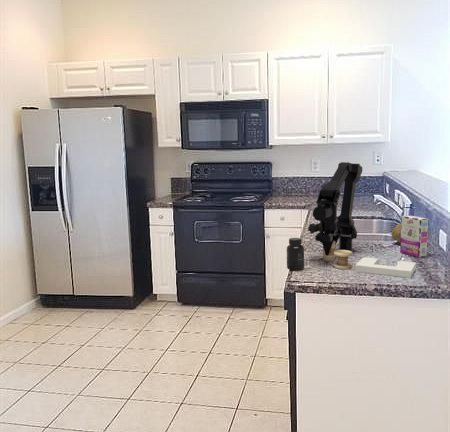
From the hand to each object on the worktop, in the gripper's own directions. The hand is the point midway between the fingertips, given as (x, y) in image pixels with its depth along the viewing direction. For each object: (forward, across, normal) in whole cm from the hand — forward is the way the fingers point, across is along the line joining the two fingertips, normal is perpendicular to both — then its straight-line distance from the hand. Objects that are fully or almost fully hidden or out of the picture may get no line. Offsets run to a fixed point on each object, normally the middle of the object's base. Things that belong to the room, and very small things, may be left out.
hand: (329, 253), depth 200 cm
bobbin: (+2, +8, +8) cm, 12 cm away
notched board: (+2, +6, +24) cm, 25 cm away
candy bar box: (+3, -23, +30) cm, 38 cm away
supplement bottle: (+3, +18, -8) cm, 20 cm away
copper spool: (+2, 0, 0) cm, 2 cm away
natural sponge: (+3, -41, +22) cm, 46 cm away
